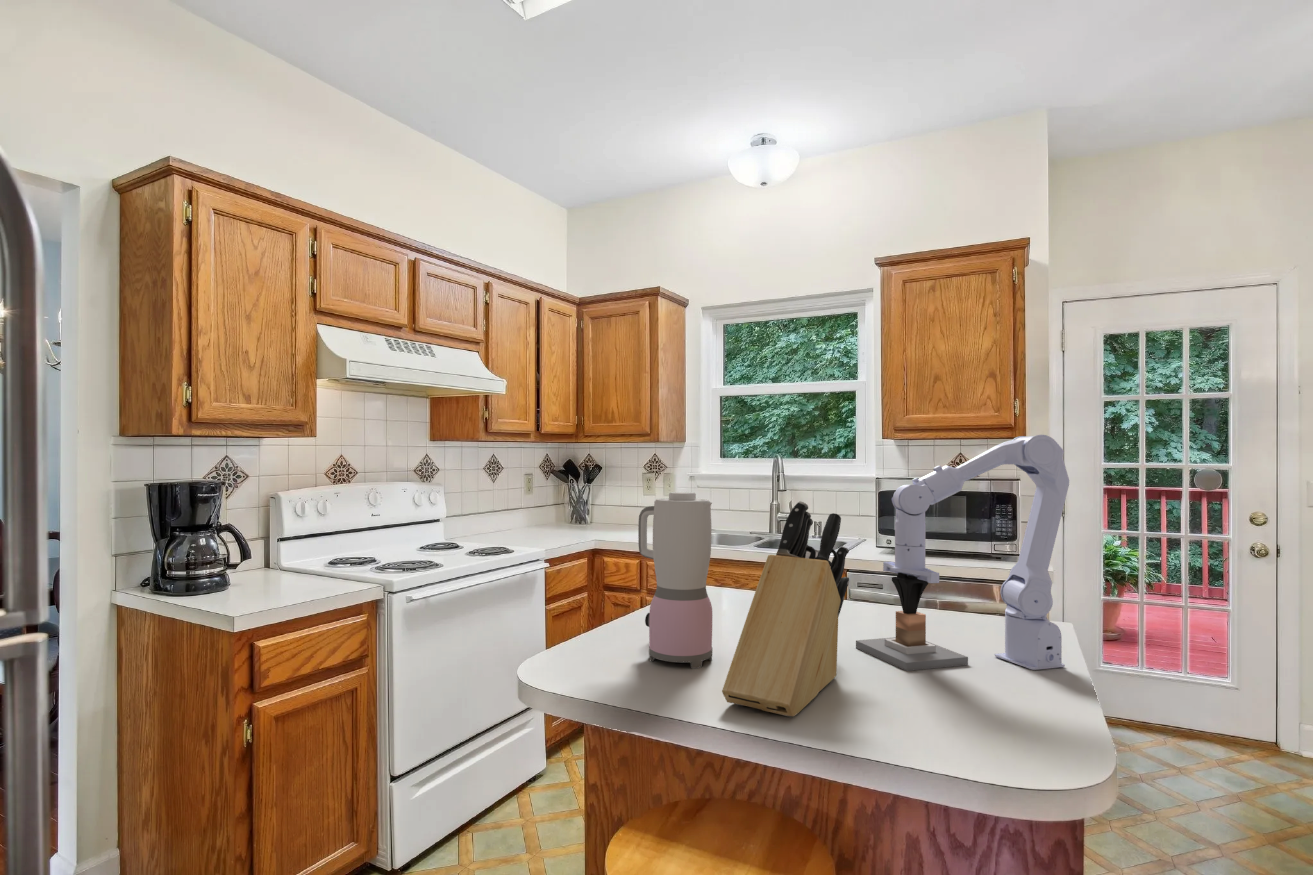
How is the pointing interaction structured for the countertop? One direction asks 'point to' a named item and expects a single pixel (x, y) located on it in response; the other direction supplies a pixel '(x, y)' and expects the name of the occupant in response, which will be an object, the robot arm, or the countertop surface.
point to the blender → (679, 578)
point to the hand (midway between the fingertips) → (909, 613)
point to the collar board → (911, 654)
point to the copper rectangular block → (910, 629)
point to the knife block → (791, 622)
